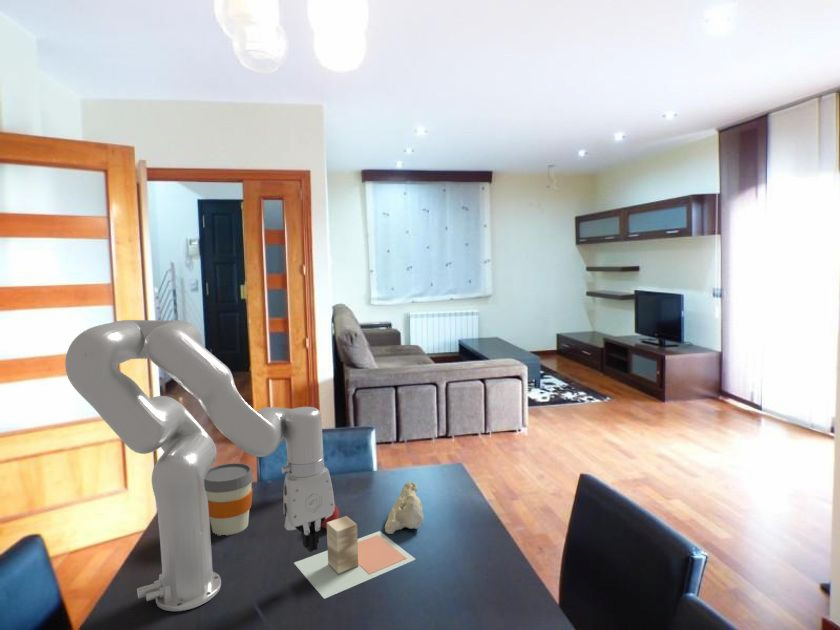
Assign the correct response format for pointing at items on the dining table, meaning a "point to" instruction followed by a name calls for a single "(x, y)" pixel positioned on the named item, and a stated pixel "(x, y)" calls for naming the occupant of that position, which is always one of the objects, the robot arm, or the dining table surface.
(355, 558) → the maple block
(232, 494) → the reusable coffee cup
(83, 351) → the robot arm
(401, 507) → the beige rock
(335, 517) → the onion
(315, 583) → the mat
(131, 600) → the dining table surface
